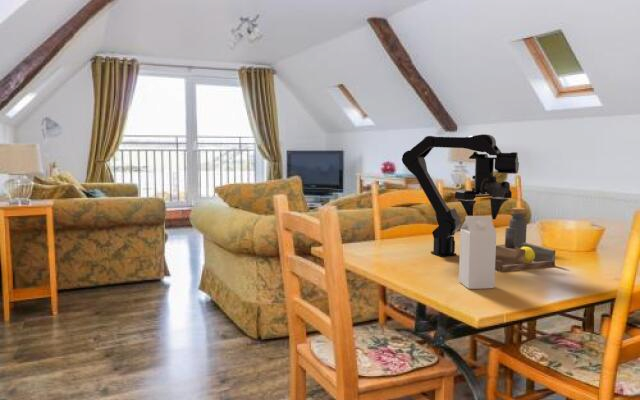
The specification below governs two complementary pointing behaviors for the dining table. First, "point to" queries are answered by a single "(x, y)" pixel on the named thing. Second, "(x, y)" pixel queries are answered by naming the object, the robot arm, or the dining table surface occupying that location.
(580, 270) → the dining table surface
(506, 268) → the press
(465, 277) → the milk carton
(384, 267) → the dining table surface
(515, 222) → the bottle
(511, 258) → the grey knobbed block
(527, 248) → the lemon
